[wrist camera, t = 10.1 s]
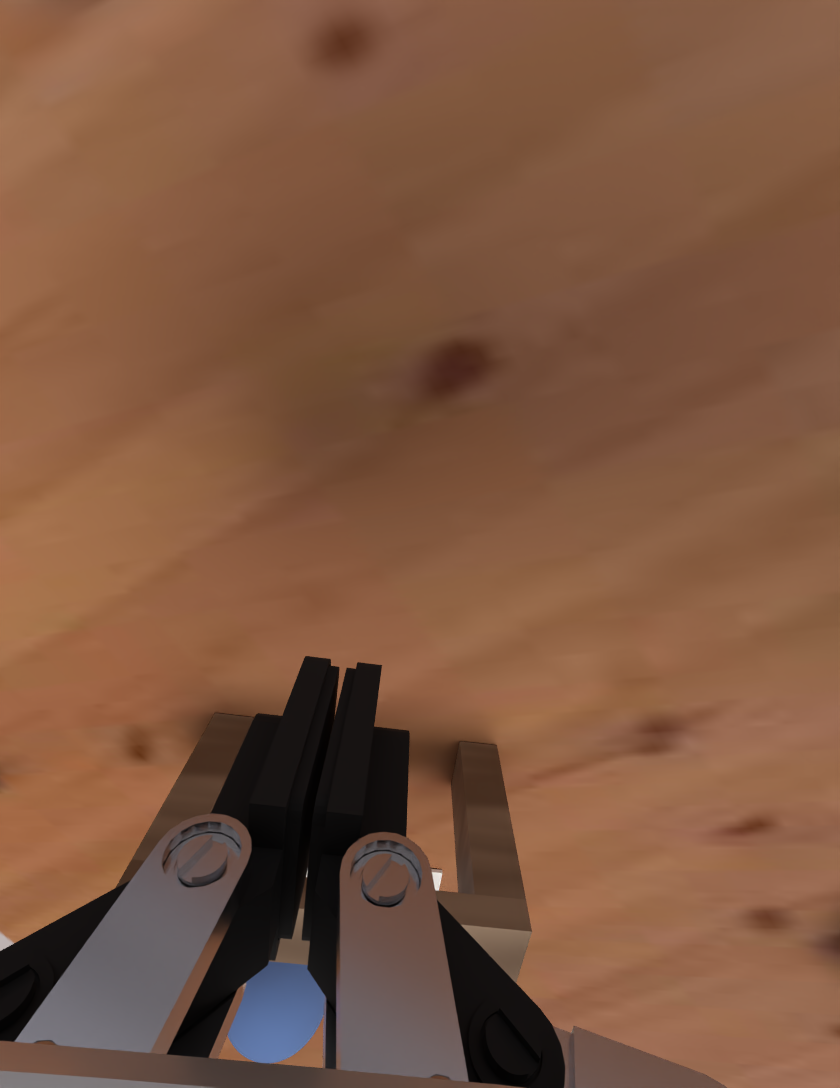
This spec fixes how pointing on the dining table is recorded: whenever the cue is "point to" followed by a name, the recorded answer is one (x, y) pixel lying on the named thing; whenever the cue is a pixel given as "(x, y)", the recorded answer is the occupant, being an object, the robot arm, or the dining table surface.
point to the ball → (277, 1013)
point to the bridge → (479, 827)
